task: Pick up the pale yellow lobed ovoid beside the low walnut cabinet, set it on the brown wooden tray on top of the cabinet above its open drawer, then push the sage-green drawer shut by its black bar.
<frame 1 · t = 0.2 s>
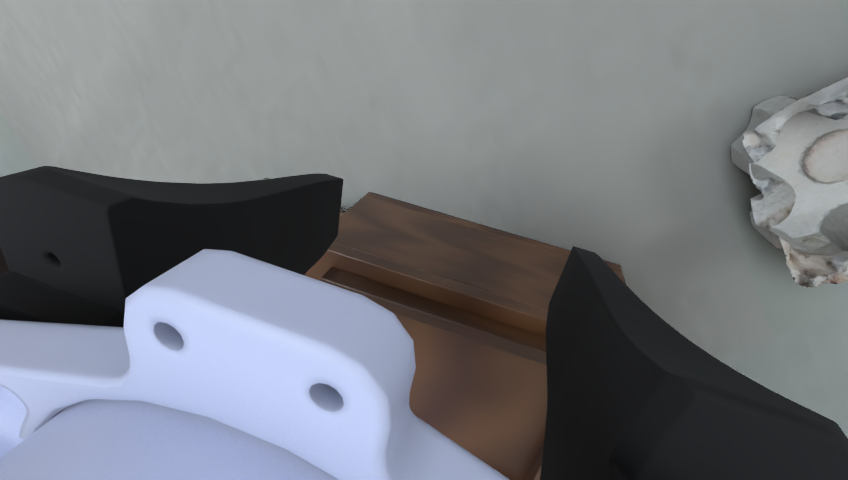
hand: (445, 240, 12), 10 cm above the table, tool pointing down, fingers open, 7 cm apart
drawer: (308, 299, 24), point 3 cm above the table, slide at 5.0 cm
brown wooden tray: (435, 395, 20), resting on cabinet
cabinet: (463, 312, 26), on the table
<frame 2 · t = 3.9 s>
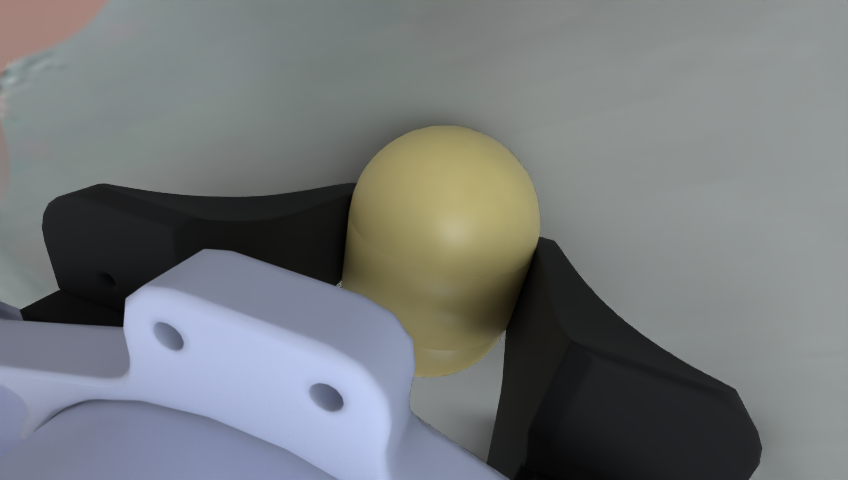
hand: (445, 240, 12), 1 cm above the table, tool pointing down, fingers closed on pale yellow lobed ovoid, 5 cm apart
pale yellow lobed ovoid: (454, 221, 14), on the table, touching gripper
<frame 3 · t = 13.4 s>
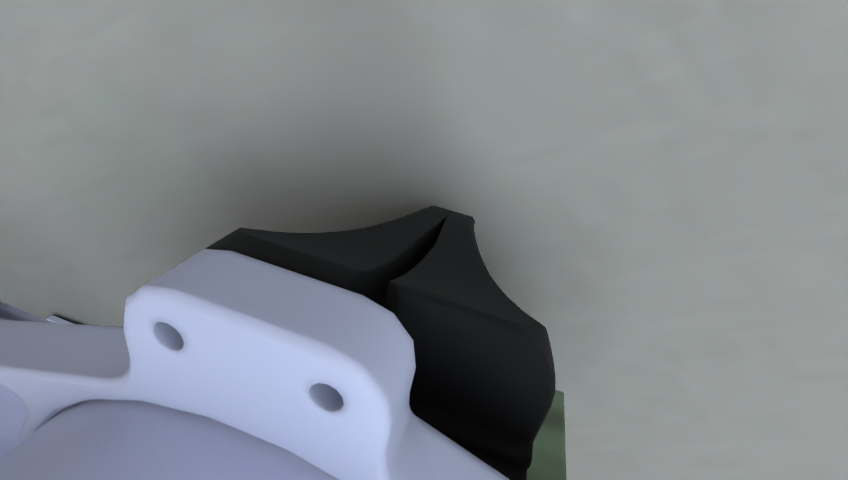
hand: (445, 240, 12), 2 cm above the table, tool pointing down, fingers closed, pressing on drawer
drawer: (386, 469, 16), point 3 cm above the table, slide at 3.8 cm, touching gripper
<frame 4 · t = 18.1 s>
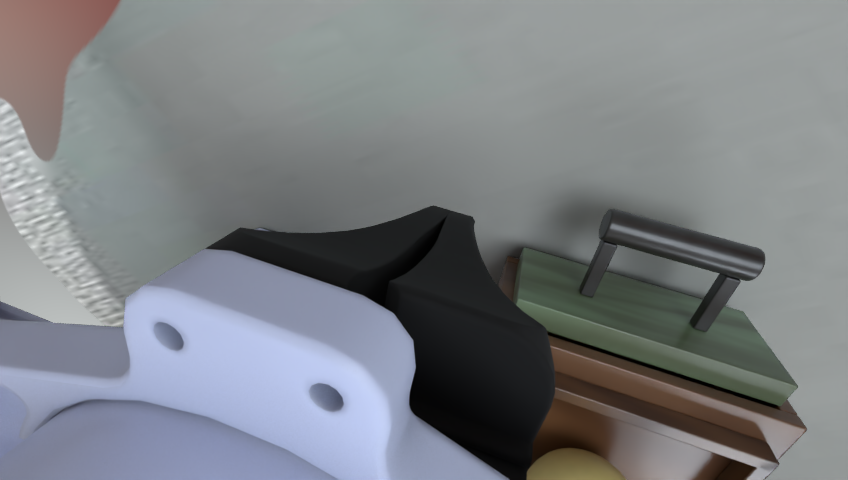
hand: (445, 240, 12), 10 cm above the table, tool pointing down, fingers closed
drawer: (600, 375, 21), point 3 cm above the table, slide at 0.0 cm, touching cabinet
cabinet: (570, 379, 26), on the table
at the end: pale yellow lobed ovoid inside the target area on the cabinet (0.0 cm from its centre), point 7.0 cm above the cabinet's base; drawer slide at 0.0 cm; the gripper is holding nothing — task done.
